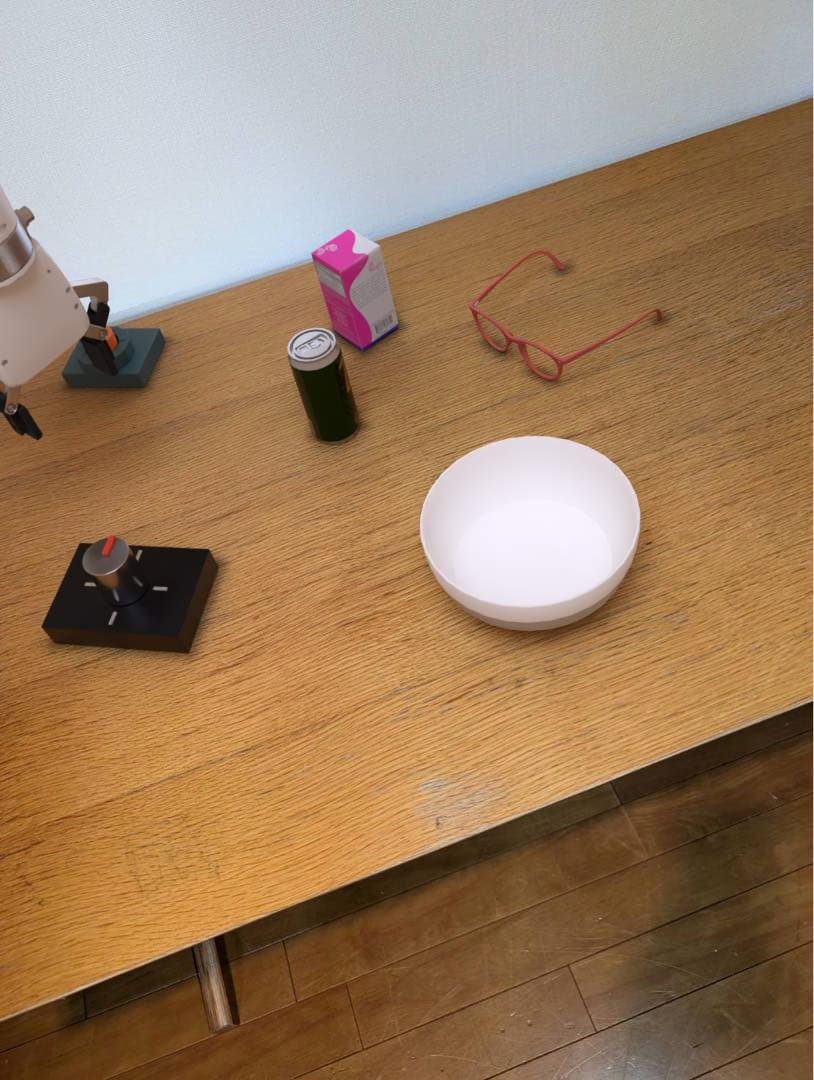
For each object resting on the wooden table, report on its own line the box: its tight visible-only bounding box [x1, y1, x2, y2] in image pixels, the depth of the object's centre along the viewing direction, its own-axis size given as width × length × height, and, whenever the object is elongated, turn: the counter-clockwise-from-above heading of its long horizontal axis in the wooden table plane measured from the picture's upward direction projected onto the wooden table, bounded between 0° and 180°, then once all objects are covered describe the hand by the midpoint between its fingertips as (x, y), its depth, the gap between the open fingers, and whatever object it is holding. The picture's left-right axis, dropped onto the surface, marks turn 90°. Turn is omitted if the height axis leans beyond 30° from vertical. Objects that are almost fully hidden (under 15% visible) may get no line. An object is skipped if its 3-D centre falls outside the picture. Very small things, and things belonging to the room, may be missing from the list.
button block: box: [60, 325, 167, 388], centre depth 118 cm, size 10×8×4 cm
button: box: [106, 325, 118, 351], centre depth 116 cm, size 4×4×2 cm
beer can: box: [286, 327, 361, 446], centre depth 103 cm, size 5×5×12 cm
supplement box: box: [310, 227, 400, 353], centre depth 112 cm, size 6×6×12 cm
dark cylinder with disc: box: [83, 534, 148, 606], centre depth 92 cm, size 4×4×5 cm
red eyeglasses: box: [468, 249, 663, 381], centre depth 109 cm, size 17×16×5 cm
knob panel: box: [40, 542, 219, 654], centre depth 95 cm, size 14×10×3 cm
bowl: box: [419, 435, 642, 632], centre depth 88 cm, size 19×19×9 cm
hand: (70, 401), depth 95 cm, fingers open, 9 cm apart
